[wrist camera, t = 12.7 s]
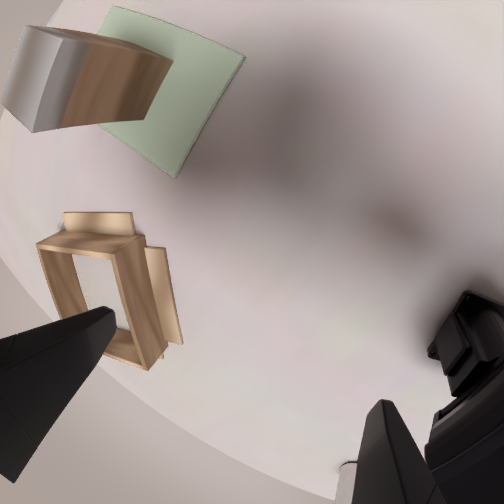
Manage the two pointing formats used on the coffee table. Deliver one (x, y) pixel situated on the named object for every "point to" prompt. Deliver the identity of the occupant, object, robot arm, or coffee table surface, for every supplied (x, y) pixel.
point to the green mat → (172, 87)
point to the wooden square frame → (127, 277)
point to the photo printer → (346, 484)
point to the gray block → (80, 79)
